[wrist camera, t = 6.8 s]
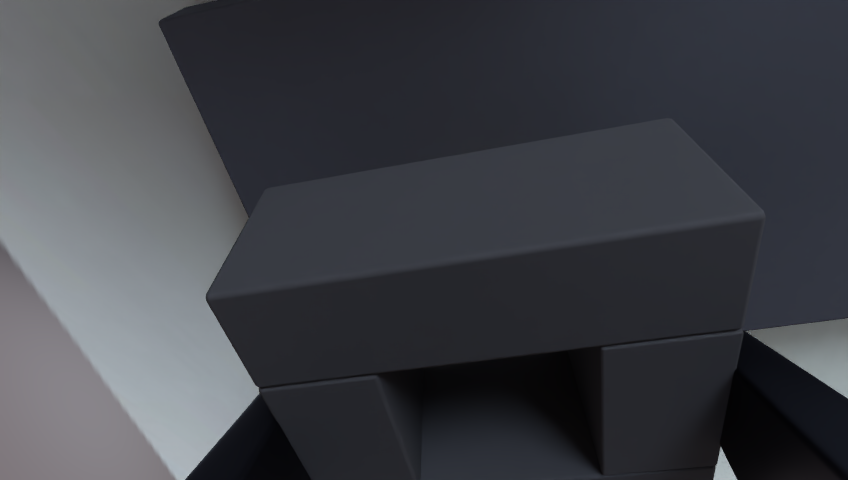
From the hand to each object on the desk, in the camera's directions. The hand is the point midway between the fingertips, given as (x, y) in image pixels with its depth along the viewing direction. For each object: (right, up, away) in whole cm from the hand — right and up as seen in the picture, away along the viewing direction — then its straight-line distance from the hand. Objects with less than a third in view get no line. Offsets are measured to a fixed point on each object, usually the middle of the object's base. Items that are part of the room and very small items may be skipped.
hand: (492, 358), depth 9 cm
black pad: (0, +1, +1) cm, 2 cm away
